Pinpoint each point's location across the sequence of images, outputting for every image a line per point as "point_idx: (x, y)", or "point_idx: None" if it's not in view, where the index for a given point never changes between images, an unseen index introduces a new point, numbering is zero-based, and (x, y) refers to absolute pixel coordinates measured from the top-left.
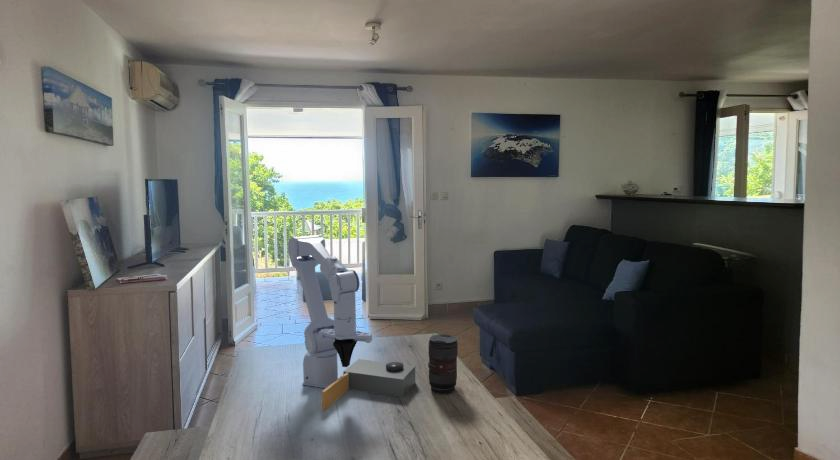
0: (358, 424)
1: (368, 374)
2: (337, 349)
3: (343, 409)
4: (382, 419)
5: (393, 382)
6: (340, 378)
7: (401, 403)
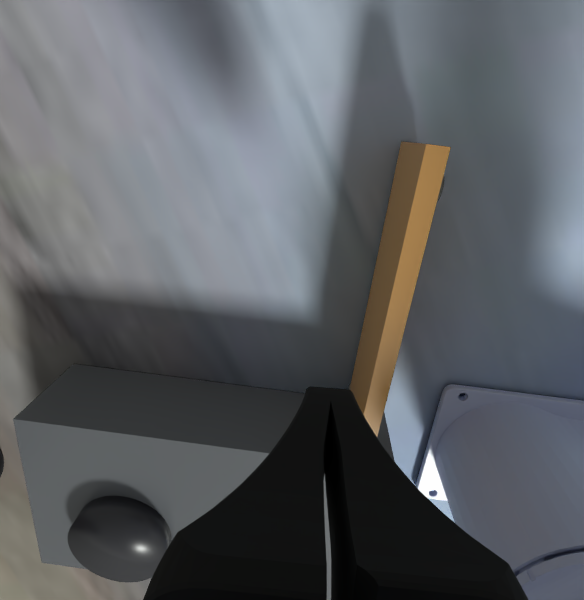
0: (143, 13)
1: (229, 450)
2: (418, 511)
3: (299, 180)
4: (50, 112)
5: (84, 410)
6: (380, 377)
7: (49, 303)
